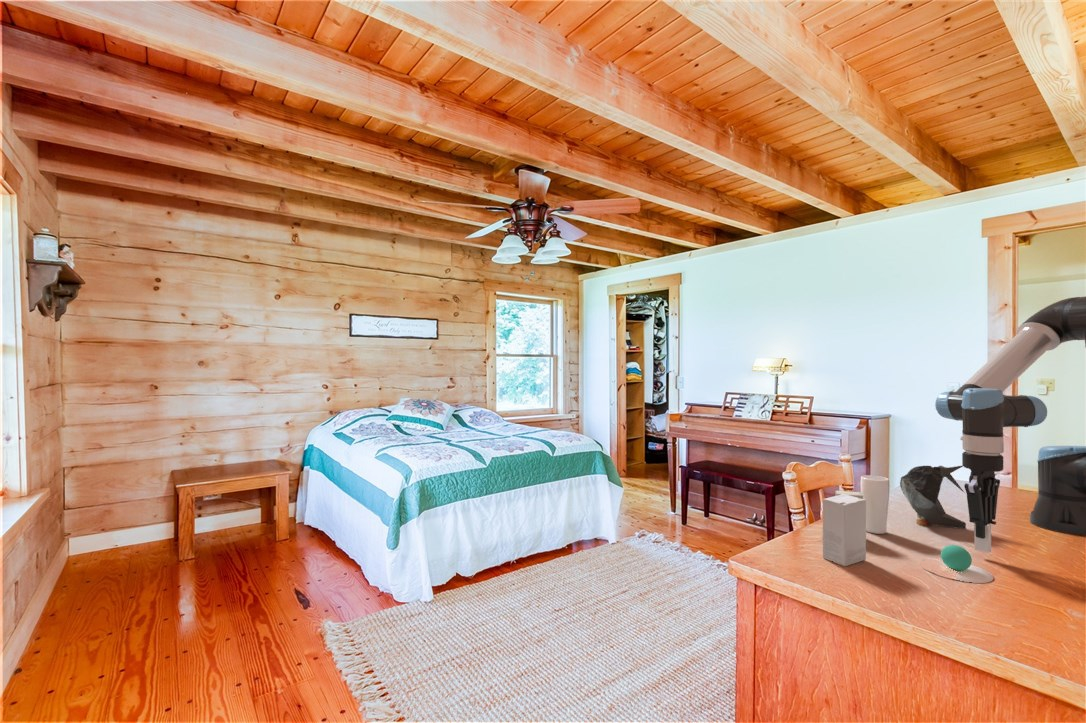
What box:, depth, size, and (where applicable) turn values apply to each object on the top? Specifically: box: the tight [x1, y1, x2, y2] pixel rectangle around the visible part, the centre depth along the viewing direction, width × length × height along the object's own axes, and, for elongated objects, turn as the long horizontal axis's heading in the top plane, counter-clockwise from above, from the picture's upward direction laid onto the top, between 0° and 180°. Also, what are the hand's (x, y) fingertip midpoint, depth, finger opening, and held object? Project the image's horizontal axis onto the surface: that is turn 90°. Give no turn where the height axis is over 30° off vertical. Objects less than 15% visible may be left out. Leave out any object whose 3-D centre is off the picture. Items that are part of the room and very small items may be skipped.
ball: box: [940, 544, 973, 571], centre depth 117 cm, size 6×6×6 cm
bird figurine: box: [899, 465, 967, 529], centre depth 149 cm, size 14×15×18 cm
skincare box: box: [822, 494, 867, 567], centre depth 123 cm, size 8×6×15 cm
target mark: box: [946, 564, 994, 584], centre depth 116 cm, size 13×13×1 cm
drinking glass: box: [860, 474, 890, 535], centre depth 143 cm, size 7×7×15 cm
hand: (982, 550), depth 123 cm, fingers closed
